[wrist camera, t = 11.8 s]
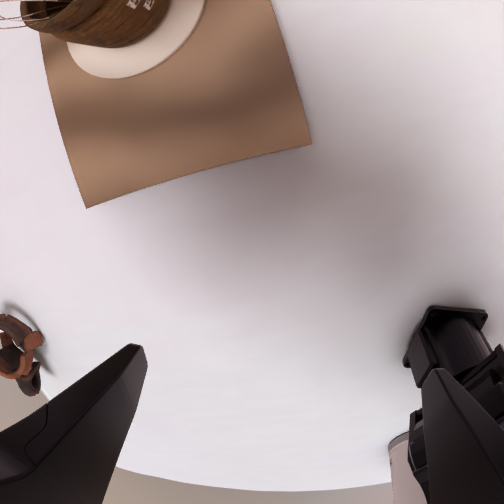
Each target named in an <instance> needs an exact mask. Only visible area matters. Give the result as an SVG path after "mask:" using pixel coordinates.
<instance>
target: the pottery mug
mask: <svg viewBox="0 0 504 504" xmlns="http://www.w3.org/2000/svg"><path fill="white" fill-rule="evenodd" d="M0 330H2V331H4V332H3V333H0V339H1V344H2V347H3V348H2V349H0V375H1V376H3V377H5V378H9V379H16V381H17V383H18V385H19V387H20V389H21V390H22V392H23V393H24V394H26V395H28V396H35V395H36V394H38V393H39V391H40V387H41V380H40V373H39V369H40V366H41V363H40V362H36V361H34V362H33V349H35V348H37V347H38V346H41V345H42V344H43V339H42V335H41V333H40V332H39V331H34V332H32V329H31V328H30V327H28V326H27V325H26V324H24V323H23V322H21V321H20V320H18V319H17V318H15V317H13V316H11V315H8V316H7V317H6V316H5V315H4V314H0ZM12 339H13V340H12ZM13 341H14V342H15V344H16V345H17V346H16V345H15V344H14V342H13ZM21 343H23V346H24V351H25V353H24V352H23V351H21V350H20V349H19V348H17V347H19V345H20V344H21ZM32 362H33V363H32Z"/></svg>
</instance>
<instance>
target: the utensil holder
mask: <svg viewBox="0 0 504 504" xmlns="http://www.w3.org/2000/svg"><path fill="white" fill-rule="evenodd" d="M3 1H21V3H20V12H21V17H22V20H10V19H15V18H8V19H6V18H4V17H2V16H0V17H1V18H3V19H0V20H9V21H23V22H24V23H25V24H26V26H28V27H29V28H31V29H34V30H36V31H39V32H42V33H51V34H52V35H53V36H54V37H56V38H58V39H60V40H63V41H66V42H71V43H76V44H82V45H88V46H95V47H101V48H122V47H127V46H130V45H132V44H135V43H137V42H139V41H141V40H142V39H144V38H145V37H147V36H148V35H149V34H150V33H152V32H153V31H154V30H155V29H156V27H157V26H158V25H159V24H160V23H161V21H162V20H163V18H164V16H165V14H166V12H167V10H168V7H169V4H170V0H0V2H3ZM21 17H16V18H21ZM26 26H21V27H26ZM21 27H11V28H0V29H12V28H21Z"/></svg>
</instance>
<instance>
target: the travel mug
mask: <svg viewBox="0 0 504 504" xmlns="http://www.w3.org/2000/svg"><path fill="white" fill-rule="evenodd" d="M408 440H409V432H407V433H405V434H402V435H400V436H399V437H397V438H395V439H394V440H393V441H392V442H391V443H390V445H389V447H388V450H389V457H390V468H391V478H392V490H393V503H394V504H427V501H426V498H425V495H424V492H423V490H422V488H421V486H420V484H419V483H418V481H417V480H416V479H415V477H414V476H413V472H412V470H411V468H410V465H409V463H408V461H407V457H408Z"/></svg>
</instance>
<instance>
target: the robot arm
mask: <svg viewBox="0 0 504 504" xmlns="http://www.w3.org/2000/svg"><path fill="white" fill-rule="evenodd" d="M432 312H434V313H432ZM431 313H432V314H431ZM482 316H483V317H482ZM487 317H488V314H487V313H486V311H483V310H472V309H461V308H450V307H440V306H431V307H430V308H428V310H427V312H426V314H425V316H424V318H423V321H422V323H421V325H420V327H419V329H418V330H417V332H416V334H415V336H414V338H413V340H412V342H411V344H410V346H409V348H408V350H407V354H406V356H405V358H404V360H403V365H404V367H406V368H411V369H412V372H413V376H414V379H415V383H416V386H417V387H418V388H421V393H422V408H420V409H419V410H416V411H414V412H413V413H411V414H410V427H409V440H408V457H407V461H408V463H409V465H410V468H411V470H412V472H413V476H414V477H415V479H416V480H417V481H418V483H419V484H420V486H421V488H422V490H423V492H424V495H425V498H426V501H427V504H504V347H503V346H502V345H501V344H499V345H498V346H497V347H496V348H495V350H494V351H492V349H491V347H490V345H489V343H488V342H487V340H486V338H485V336H484V335H483V333H482V331H481V329H482V327H483V325H484V324H485V322H486V320H487ZM147 367H148V364H147V360H146V356H145V353H144V349H143V347H142V346H141V345H137V344H132V343H130V344H128V345H126V346H125V347H124V348H122V349H121V350H119V351H118V352H117V353H115V354H114V355H112V356H111V357H110V358H108V359H107V360H106V361H104V362H103V363H101V364H100V365H99V366H97V367H96V368H95V369H93V370H92V371H90V372H89V373H88V374H86V375H85V376H83V377H82V378H81V379H79V380H78V381H77V382H75V383H74V384H72V385H71V386H70V387H68V388H67V389H65V390H64V391H63V392H61V393H60V394H59V395H57V396H56V397H54V398H53V399H52V400H50V401H49V402H48V403H46V404H45V405H43V406H42V407H41V408H39V409H38V410H36V411H35V412H33V413H32V414H30V415H29V416H27V417H26V418H24V419H22V420H21V421H19V422H17V423H16V424H14V425H12V426H10V427H8V428H7V429H5V430H3V431H1V432H0V504H102V502H103V499H104V496H105V493H106V491H107V487H108V485H109V482H110V479H111V476H112V474H113V471H114V468H115V465H116V463H117V460H118V457H119V454H120V452H121V449H122V446H123V444H124V441H125V438H126V436H127V433H128V430H129V428H130V425H131V423H132V420H133V418H134V415H135V412H136V409H137V406H138V402H139V398H140V394H141V390H142V387H143V383H144V379H145V376H146V372H147Z"/></svg>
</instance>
